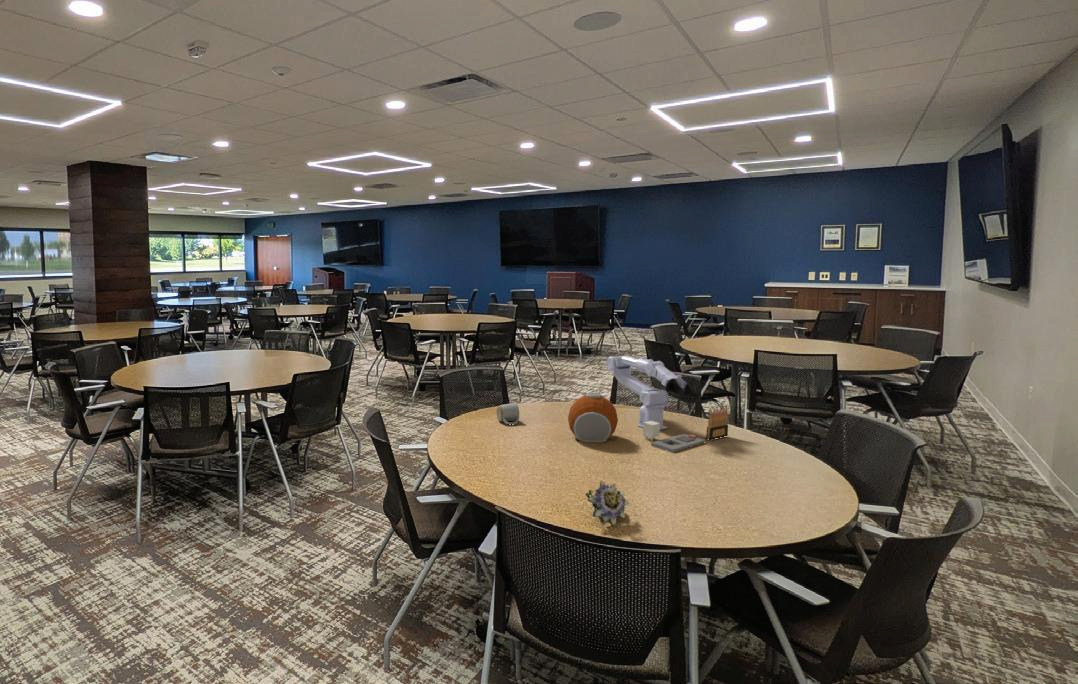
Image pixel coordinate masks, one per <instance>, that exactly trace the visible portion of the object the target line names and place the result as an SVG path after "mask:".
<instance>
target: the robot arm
mask: <svg viewBox="0 0 1078 684" xmlns="http://www.w3.org/2000/svg"><path fill="white" fill-rule="evenodd" d="M633 367H634V368H635V369H636V370H637V371H638V372H641V373H643V374H646V375H647V377H652V378H655V379H656V380H658V381H659V382H660V384H661V385H663V386H664V387H665V389H659V388H656V387H651V386H650V385H647V384H646V383H644V382H643V381H641V380H640V379H638V378H636V377H635V376H633V375H632V368H633ZM606 369H607V372H609V373H611V374H612V375H613V376H614V377H615V379H616V380H617V382H618V383H619V384H621V385H623V386H624V387H626V388H628V389H629V390H630V391H632V392H634V393H635V394H636V395H638V396H639V401H641V402H642V404H643V405H642V406H641V407H640V409H639V416H638V417H639V419H638V424H637V427H641V428H643V425H644V422H648V421H654V422H657V423H660V431H661V430H664V429H667V428H668V426H665V425H664V411H665V409H664V408H666V405H667V404H668V403H669V394H668V393H674V394H676V395H678V396H681V397H684V395H688V396H690V397H692V398H694V399H698V397H699V395H700V393H699V391H698V390H697V389H696V388H695V385H694V383H693V381H689V380H688V381H687V382H686V381H685V380H684V379H683V375H682V374H675V373H673V372H672V371H671V370H669V369H668V368H667V367H665V363H664V362H662V361H661V360H657V361H654V360H653V359H647V357H645V356H642V357H639V358H638V359H637V358H635V357H632V356H631V355H620V356H608V357H607V359H606Z"/></svg>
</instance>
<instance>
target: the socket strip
mask: <svg viewBox="0 0 1078 684" xmlns="http://www.w3.org/2000/svg"><path fill="white" fill-rule="evenodd" d="M706 441H707V440H706V438H705V439H704V438H700V437H699V436H698V437H697V435H695V434H686V433H681V434H677V435H673V436H670V437H666V438H663V439H659V440H655V441H650V446H651V447H654V448H657V449H661V450H663V451H666V450H667V452H669V451H670V453H672V452H674V453H677V452H679V450H680V451H683V450H682V449H684V450H686V449H685V448H687V449H689V448H688V447H690V448H692V447H691V446H694V445H697V446H699V445H698V444H700V445H702V444H701V443H704V442H706ZM669 443H670V444H669ZM671 443H673V444H671ZM706 443H707V442H706ZM675 444H676V445H675ZM704 444H705V443H704ZM694 447H695V446H694ZM676 451H677V452H676Z"/></svg>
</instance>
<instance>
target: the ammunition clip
mask: <svg viewBox="0 0 1078 684" xmlns="http://www.w3.org/2000/svg"><path fill="white" fill-rule="evenodd" d="M728 432H729V424H728V408H727V406H726V407H725V408H724V407H722V409H721V408H719V409H718V408H716V410H715V409H713V410H712V409H710V411H709V415H708V423H707V426H706V436H705V440H706V439H709V440H711V439H715V438H720V437H724V436H728V434H729V433H728ZM709 440H708V441H709Z"/></svg>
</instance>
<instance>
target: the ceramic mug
mask: <svg viewBox="0 0 1078 684" xmlns="http://www.w3.org/2000/svg"><path fill="white" fill-rule="evenodd" d="M496 418H497V420H498V422H500V421H501V422H500V423H504V424H506V425H507V424H516V425H517V424H518V421H519V420H520V407H519V405H518V404H517V402H511V403H506V404H500V405H498V406H497V408H496ZM508 421H512V422H508Z"/></svg>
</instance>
